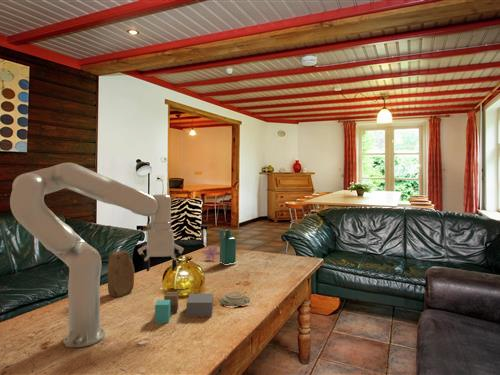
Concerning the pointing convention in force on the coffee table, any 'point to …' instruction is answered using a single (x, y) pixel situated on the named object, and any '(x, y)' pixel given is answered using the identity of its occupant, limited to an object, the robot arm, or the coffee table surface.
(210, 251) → the lily
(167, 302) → the teal block
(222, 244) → the green bottle
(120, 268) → the brown rounded oval lump
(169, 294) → the walnut block
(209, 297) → the base block
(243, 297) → the grey stepped disc
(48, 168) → the robot arm
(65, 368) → the coffee table surface
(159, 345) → the coffee table surface
